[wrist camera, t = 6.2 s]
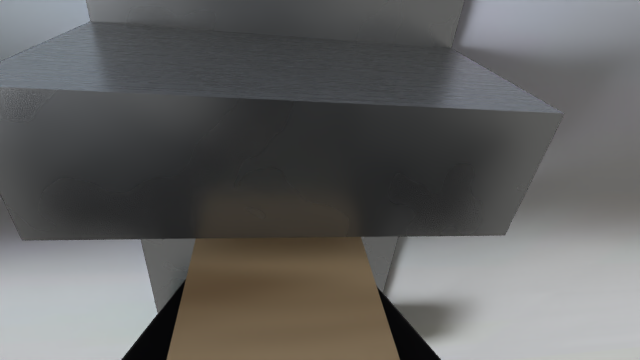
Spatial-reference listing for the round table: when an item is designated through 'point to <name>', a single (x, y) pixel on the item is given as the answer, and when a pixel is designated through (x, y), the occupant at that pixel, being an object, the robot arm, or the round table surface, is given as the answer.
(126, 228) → the grey angle bracket
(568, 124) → the round table surface
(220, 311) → the tan wooden block
